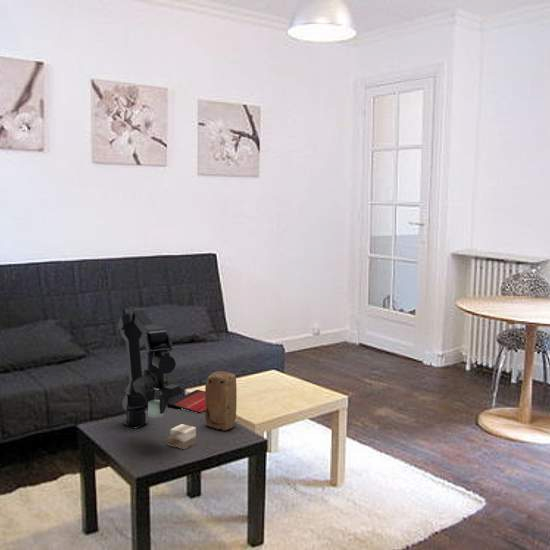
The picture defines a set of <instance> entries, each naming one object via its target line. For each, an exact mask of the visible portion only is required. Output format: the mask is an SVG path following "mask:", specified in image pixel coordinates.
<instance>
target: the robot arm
mask: <svg viewBox="0 0 550 550" xmlns="http://www.w3.org/2000/svg"><path fill="white" fill-rule="evenodd" d="M117 324H118V330H119V332H120V335H121V337H122V338H123V340H124V341H125V345H126V347H125V348H126V358H127V369H128V380H129V382H128V384H127V386H126V387H125V395H124V397H123V399H122V402H121V405H122V409H123V410H124V411H125V412H126V422H124V423H123V424H125V425H124V426H126V425H128V426H127V427H129V426H132V427H138V426H141V427H143V426H145V425H144V424H146V422H147V423H148V424H149V421H147V419H146V417H147V416H146V415H147V414H146V409H148V402H149V401H151V400H155V394H156V391H160V394H158V395H156V397H157V398H158V400H159V401H160V414H163V413H164V412H165V411H166V409H167V408H168V407H167V405H168V403H170V402H171V401H170V400H171V398H175V397H178V396H180V395H182V394H183V387H182V386H181V385H179V384H175V383H172V384H169V385H168V380H166V379H165V378H166V377H165V375H167V374H171V373H172V372H173V371H174V370H175V368H176V365H177V363H176V360H175V358H174V357H173V356H171V353H170V351H172V350H173V348H172V346H173V343H172V341H171V338H170V335H169V333H168V331H167V330H166V329H165V328H164V327H163V326H162V325H157V324H155V323H154V322H153V320H152V319H151V318H150V317H149V316H148V315H147V313H146V311H145V309H132V310H129V312H128V313H126V314H125V315H122V316H121V317H120V319H119V320H118V322H117ZM141 337H142V341H143V344H144V347H145V350H146V369H144V371H143V370H142V368H143V367H142V358H141V349H140V348H141V347H140V346H141V345H140V338H141ZM142 425H143V426H142ZM146 425H147V424H146ZM132 427H131V428H132ZM138 428H139V427H138Z"/></svg>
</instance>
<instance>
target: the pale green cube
mask: <svg viewBox="0 0 550 550" xmlns="http://www.w3.org/2000/svg"><path fill="white" fill-rule="evenodd" d="M147 413H148V414H147V415H148V417H149V418H154V419H155V418H162V417H163V416H164V413H163V414H160V401H159V399H154V400H151V401H149V402H148V408H147Z"/></svg>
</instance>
